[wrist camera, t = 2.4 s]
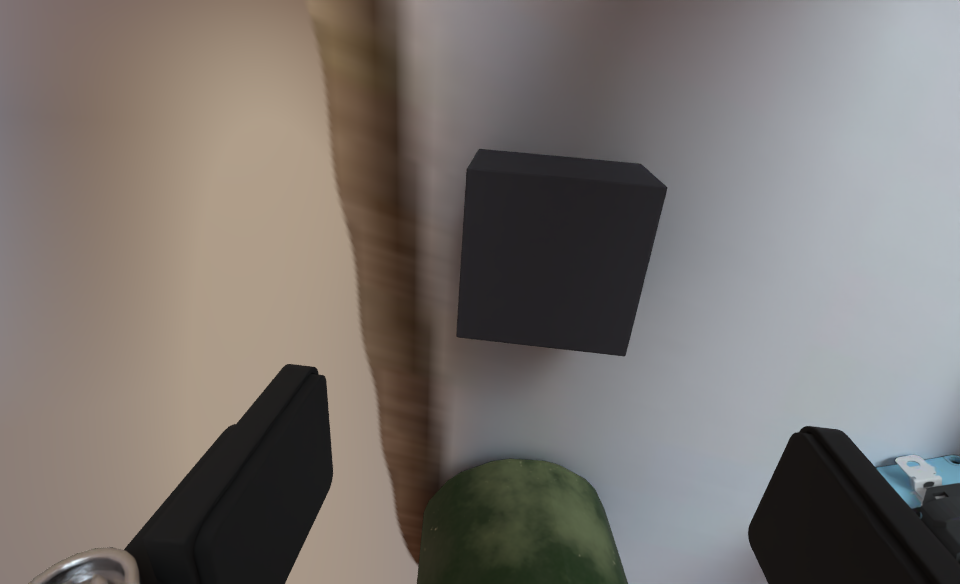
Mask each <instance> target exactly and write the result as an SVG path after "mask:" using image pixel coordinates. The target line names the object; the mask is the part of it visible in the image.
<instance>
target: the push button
mask: <svg viewBox="0 0 960 584" xmlns="http://www.w3.org/2000/svg"><path fill="white" fill-rule="evenodd" d="M895 462H896V463H897V464H896V465H890V466H884V467H878V468H876V469H877V470H878V471H879V472H880V473H881V475H882V476H883V477H884V478H885V479H886V480H887V481H888V483H889V484H890V485H891V486H892V487H893V488H894V489H895V491H896V492H897V493H898V494H899V495H900V496H901V497H902V499H903V500H904V501H905V502H906V503H907V504H908V505H909V507H910V508H911V509H912V510H913V511H914V512H915V513H916V515H917V516H918V517H919V518H920V519H921V520H922V521H923V523H924V524H925V525H926V526H927V527H928V528H929V529H930V530H931V532H932V533H933V534H934V535H935V536H936V537H937V538H938V540H939V541H940V542H941V543H942V544H943V545H944V546H945V548H946V549H947V550H948V551H949V552H950V553H951V554H952V556H953V557H954V558H955V559H956V560H957V561H958V562H959V564H960V456H956V455H948V456H943V457H939V458H933V459H927V460H923V459H922V458H921V457H920V456H917V455H910V456H904V457H898V458H896V460H895ZM907 462H908V463H907Z"/></svg>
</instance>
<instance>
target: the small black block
mask: <svg viewBox="0 0 960 584" xmlns="http://www.w3.org/2000/svg"><path fill="white" fill-rule="evenodd" d="M666 191H667V187H666V186H665V185H664V184H663V183H662V182H661V181H659V180H658V179H657V178H656V177H655V176H654V175H653V174H652V173H650V172H649V171H648V170H647V169H646V168H645V167H644V166H642V165H641V164H636V163H625V162H614V161H604V160H593V159H582V158H571V157H560V156H550V155H539V154H528V153H517V152H507V151H496V150H485V149H479V150H478V151H477V153H476V155H475V156H474V158H473V160H472V161H471V163H470V165H469V166H468V168H467V173H466V190H465V206H464V222H463V238H462V254H461V271H460V287H459V303H458V319H457V337H460V338H469V339H478V340H486V341H495V342H504V343H513V344H521V345H530V346H539V347H548V348H556V349H565V350H574V351H583V352H592V353H600V354H609V355H618V356H625V355H626V352H627V348H628V344H629V340H630V336H631V332H632V328H633V324H634V320H635V316H636V312H637V307H638V303H639V299H640V295H641V291H642V287H643V283H644V279H645V275H646V271H647V267H648V263H649V259H650V255H651V251H652V247H653V243H654V239H655V235H656V231H657V227H658V223H659V219H660V215H661V211H662V207H663V203H664V199H665V195H666Z"/></svg>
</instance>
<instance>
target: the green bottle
mask: <svg viewBox="0 0 960 584" xmlns="http://www.w3.org/2000/svg"><path fill="white" fill-rule="evenodd" d="M417 584H628V582H627V579H626V576H625V573H624V569H623V566H622V563H621V560H620V557H619V554H618V550H617V547H616V544H615V541H614V538H613V535H612V531H611V528H610V525H609V522H608V519H607V516H606V512H605V509H604V507H603V505H602V503H601V501H600V499H599V497H598V495H597V493H596V490H595V489H594V488H593V487H592V486H591V485H590V484H589V483H588V482H587V481H586V480H585V479H584V478H582V477H580V476H578V475H577V474H575V473H573V472H571V471H569V470H568V469H566V468H564V467H562V466H560V465H557V464H554V463H550V462H546V461H539V460H523V459H504V460H497V461H491V462H489V463H486V464H483V465H480V466H477V467H475V468H472V469H469V470H466V471H463V472H461V473H459V474H458V475H456V476H454V477H453V478H451V479H450V480H448V481H447V482H446V483H445V484H444V485H443V486H442V487H441V489H440V490H439V491H438V492H437V493H436V494H435V495H434V496H433V497H432V498H431V499H430V500H429V502H428V504H427V507H426V509H425V511H424V516H423V526H422V537H421V547H420V558H419V568H418V578H417Z"/></svg>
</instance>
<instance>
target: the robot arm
mask: <svg viewBox="0 0 960 584" xmlns="http://www.w3.org/2000/svg"><path fill="white" fill-rule="evenodd" d="M328 412H329V411H328V398H327V386H326V378H325V376H323V375H319V374H318V371H317V369H316V368H315V367H310V366H301V365H293V364H287V365H285V366H284V367H283V368H282V369H281V371H280V372H279V373H278V374H277V375H276V377H275V378H274V379H273V380H272V382H271V383H270V384H269V385H268V386H267V388H266V389H265V390H264V392H263V393H262V394H261V395H260V396H259V397H258V398H257V400H256V401H255V402H254V403H253V405H252V406H251V407H250V408H249V409H248V411H247V412H246V413H245V414H244V415H243V417H242V418H241V419H240V420H239V422H238V423H237V424H234V425H232V426H230V427H228V428H227V429H226V430H225V431H224V432H223V433H222V434H221V435H220V436H219V438H218V439H217V440H216V441H215V442H214V444H213V445H212V446H211V447H210V448H209V449H208V451H207V452H206V453H205V454H204V455H203V457H202V458H201V459H200V460H199V461H198V462H197V464H196V465H195V466H194V467H193V468H192V470H191V471H190V472H189V473H188V474H187V475H186V477H185V478H184V479H183V480H182V481H181V483H180V484H179V485H178V486H177V487H176V489H175V490H174V491H173V492H172V493H171V495H170V496H169V497H168V498H167V499H166V500H165V502H164V503H163V504H162V505H161V506H160V508H159V509H158V510H157V511H156V512H155V513H154V515H153V516H152V517H151V518H150V519H149V521H148V522H147V523H146V524H145V525H144V527H143V528H142V529H141V530H140V531H139V533H138V534H137V535H136V536H135V537H134V538H133V540H132V541H131V542H130V543H129V544H128V546H127V547H126V548H125V549H124V550H121V549H117V548H113V547H110V548H95V549H91V550H88V551H84V552H81V553H77V554H75V555H72V556H70V557H68V558H66V559H64V560H62V561H60V562H58V563H56V564H54V565H53V566H51V567H50V568H48V569H47V570H45V571H44V572H42V573H41V574H39V575H38V576H36V577H35V578H34V579H33V580H32V581H31V582H30V583H29V584H285V582H286V580H287V578H288V576H289V573H290V572H291V569H292V567H293V565H294V563H295V561H296V559H297V557H298V554H299V552H300V550H301V548H302V546H303V544H304V542H305V540H306V538H307V535H308V533H309V531H310V529H311V527H312V525H313V523H314V521H315V519H316V516H317V514H318V512H319V510H320V508H321V506H322V504H323V501H324V500H325V498H326V495H327V493H328V491H329V489H330V486H331V482H332V477H333V465H332V452H331V439H330V425H329V413H328ZM748 537H749V542H750V545H751V548H752V550H753V552H754V554H755V556H756V558H757V560H758V563H759V565H760V567H761V569H762V571H763V573H764V575H765V577H766V580H767V582H768V584H960V564H959V562H958V561H957V560H956V559H955V558H954V557H953V556H952V554H951V553H950V552H949V551H948V550H947V549H946V548H945V546H944V545H943V544H942V543H941V542H940V541H939V540H938V538H937V537H936V536H935V535H934V534H933V533H932V532H931V530H930V529H929V528H928V527H927V526H926V525H925V524H924V523H923V521H922V520H921V519H920V518H919V517H918V516H917V515H916V513H915V512H914V511H913V510H912V509H911V508H910V507H909V505H908V504H907V503H906V502H905V501H904V500H903V499H902V497H901V496H900V495H899V494H898V493H897V492H896V491H895V489H894V488H893V487H892V486H891V485H890V484H889V483H888V481H887V480H886V479H885V478H884V477H883V476H882V475H881V473H880V472H879V471H878V470H877V469H876V468H875V467H874V466H873V464H872V463H871V462H870V461H869V460H868V459H867V458H866V456H865V455H864V454H863V453H862V452H861V451H860V450H859V448H858V447H857V446H856V445H855V444H854V443H853V442H852V440H851V439H850V438H849V437H848V436H847V435H846V434H845V433H844V432H843V431H840V430H837V429H829V428H820V427H812V426H806V427H804V428H802V429H801V430H800V432H798V433H794V434H793V435H792V436H791V437H790V439H789V442H788V444H787V446H786V448H785V450H784V452H783V454H782V457H781V459H780V461H779V463H778V465H777V467H776V469H775V471H774V474H773V476H772V478H771V480H770V482H769V484H768V486H767V489H766V491H765V493H764V495H763V497H762V499H761V501H760V504H759V506H758V508H757V510H756V512H755V514H754V516H753V519H752V521H751V523H750V525H749V530H748Z"/></svg>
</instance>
